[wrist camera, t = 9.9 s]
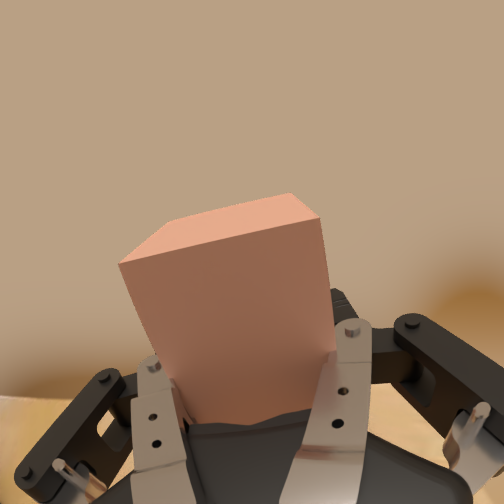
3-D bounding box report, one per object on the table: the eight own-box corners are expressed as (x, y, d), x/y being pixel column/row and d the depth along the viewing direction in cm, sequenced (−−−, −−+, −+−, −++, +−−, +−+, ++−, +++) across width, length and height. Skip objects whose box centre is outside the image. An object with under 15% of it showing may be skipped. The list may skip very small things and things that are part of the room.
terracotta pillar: (237, 487, 10) (117, 263, 7) (240, 417, 15) (169, 221, 11) (341, 471, 10) (319, 217, 6) (323, 402, 15) (290, 192, 11)
